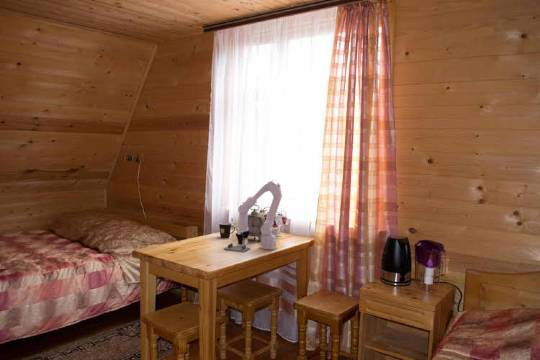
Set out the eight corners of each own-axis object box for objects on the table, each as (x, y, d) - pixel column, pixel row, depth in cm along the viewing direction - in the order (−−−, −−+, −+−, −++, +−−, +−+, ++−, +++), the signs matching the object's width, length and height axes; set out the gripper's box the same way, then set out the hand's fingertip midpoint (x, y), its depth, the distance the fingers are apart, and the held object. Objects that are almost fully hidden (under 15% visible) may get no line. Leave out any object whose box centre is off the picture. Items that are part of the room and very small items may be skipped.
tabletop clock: (241, 240, 312) (242, 204, 310) (246, 237, 321) (247, 202, 318) (261, 242, 308) (262, 206, 306) (265, 239, 317) (266, 204, 314)
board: (250, 249, 288) (250, 244, 288) (244, 252, 279) (244, 247, 279) (230, 246, 293) (230, 242, 292) (223, 249, 284) (224, 245, 284)
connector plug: (247, 245, 298) (247, 238, 297) (244, 246, 294) (245, 239, 293) (240, 244, 299) (240, 237, 299) (238, 246, 296) (238, 238, 295)
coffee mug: (216, 236, 321) (216, 223, 320) (226, 235, 326) (227, 221, 325) (225, 240, 311) (225, 225, 310) (235, 238, 317) (236, 224, 316)
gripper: (242, 220, 303) (241, 240, 305) (232, 223, 290) (232, 244, 291) (251, 221, 301) (251, 241, 302) (243, 225, 287) (242, 245, 289)
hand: (242, 243), depth 297 cm, fingers open, 7 cm apart
